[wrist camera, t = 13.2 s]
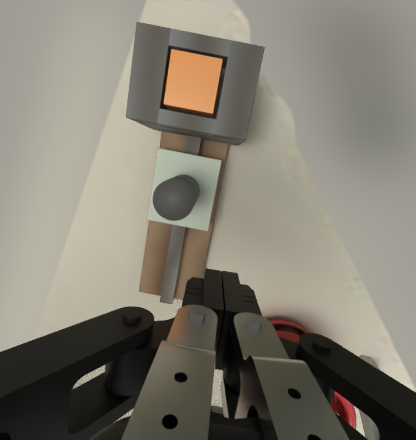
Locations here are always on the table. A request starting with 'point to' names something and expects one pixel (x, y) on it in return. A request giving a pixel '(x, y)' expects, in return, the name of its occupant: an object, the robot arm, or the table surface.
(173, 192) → the mint plate with knob
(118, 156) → the table surface
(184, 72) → the button
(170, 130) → the rail
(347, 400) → the robot arm
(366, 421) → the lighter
